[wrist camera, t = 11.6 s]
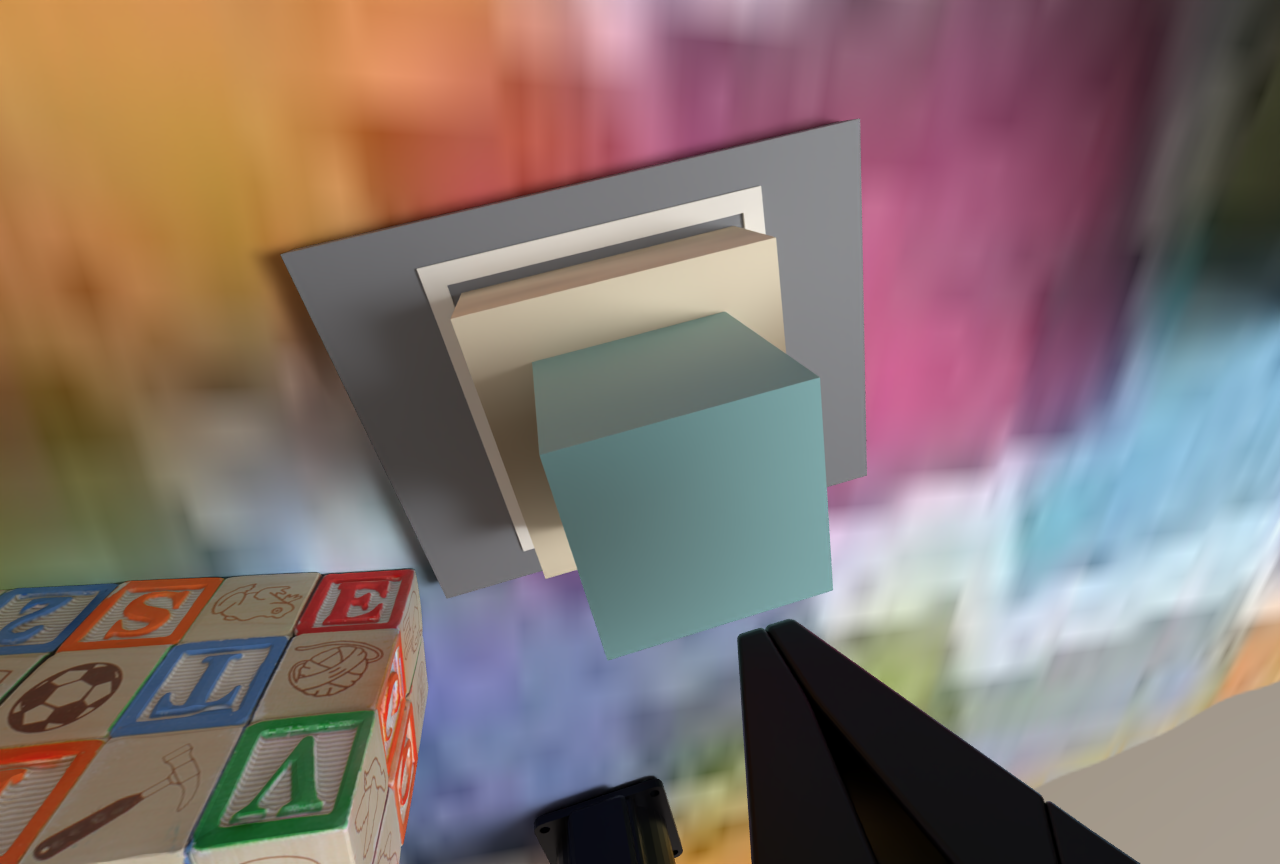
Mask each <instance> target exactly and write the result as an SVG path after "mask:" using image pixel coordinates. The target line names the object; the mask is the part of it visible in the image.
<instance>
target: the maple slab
mask: <svg viewBox="0 0 1280 864" xmlns="http://www.w3.org/2000/svg"><path fill="white" fill-rule="evenodd" d="M721 312H727V313H728V314H730V315H731V316H732V317H734V318H735V319H737V320H738V321H740V322H741V323H742V324H744V325H745V326H747V327H748V328H750V329H751V330H753V331H754V332H755V333H757V334H758V335H760V336H761V337H763V338H764V339H765V340H767V341H768V342H770V343H771V344H773V345H774V346H776V347H777V348H778V349H780V350H781V351H783V352H784V353H786V346H785V335H784V323H783V312H782V300H781V289H780V277H779V266H778V254H777V243H776V237H773V236H769V235H765V234H762V233H758V232H754V231H751V230H747V229H744V228H740V227H736V226H731V227H727V228H723V229H719V230H715V231H711V232H707V233H703V234H699V235H695V236H690V237H686V238H682V239H678V240H674V241H670V242H666V243H662V244H658V245H654V246H650V247H646V248H642V249H638V250H634V251H630V252H626V253H622V254H618V255H614V256H609V257H605V258H601V259H597V260H593V261H589V262H585V263H581V264H577V265H573V266H569V267H565V268H561V269H557V270H553V271H549V272H545V273H541V274H537V275H532V276H528V277H524V278H520V279H516V280H512V281H508V282H504V283H500V284H496V285H492V286H488V287H484V288H480V289H476V290H472V291H468V292H464V293H461V296H460V298H459V300H458V302H457V305H456V307H455V309H454V312H453V314H452V316H451V322H452V325H453V328H454V330H455V333H456V336H457V338H458V341H459V344H460V347H461V349H462V352H463V355H464V358H465V360H466V363H467V366H468V368H469V371H470V374H471V377H472V379H473V382H474V385H475V387H476V390H477V393H478V396H479V398H480V401H481V404H482V407H483V409H484V412H485V415H486V417H487V420H488V423H489V426H490V428H491V431H492V434H493V437H494V439H495V442H496V445H497V447H498V450H499V453H500V456H501V458H502V461H503V464H504V466H505V469H506V472H507V475H508V477H509V480H510V483H511V486H512V488H513V491H514V494H515V496H516V499H517V502H518V505H519V507H520V510H521V513H522V516H523V518H524V521H525V524H526V526H527V529H528V532H529V535H530V537H531V540H532V543H533V546H534V548H535V551H536V554H537V556H538V559H539V562H540V565H541V567H542V570H543V573H544V575H545V578H546V579H547V578H550V577H554V576H557V575H561V574H564V573H567V572H571V571H574V570H577V567H576V564H575V561H574V558H573V555H572V552H571V549H570V546H569V543H568V540H567V537H566V534H565V531H564V528H563V525H562V522H561V519H560V516H559V513H558V510H557V507H556V504H555V500H554V497H553V494H552V491H551V488H550V485H549V482H548V479H547V476H546V473H545V470H544V467H543V464H542V461H541V458H540V455H539V444H538V431H537V419H536V406H535V393H534V381H533V368H532V362H535V361H538V360H542V359H546V358H550V357H554V356H557V355H561V354H565V353H569V352H573V351H577V350H580V349H584V348H588V347H592V346H596V345H599V344H603V343H607V342H611V341H615V340H618V339H622V338H626V337H630V336H634V335H638V334H641V333H645V332H649V331H653V330H657V329H660V328H664V327H668V326H672V325H676V324H679V323H683V322H687V321H691V320H695V319H699V318H702V317H706V316H710V315H714V314H718V313H721Z"/></svg>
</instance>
